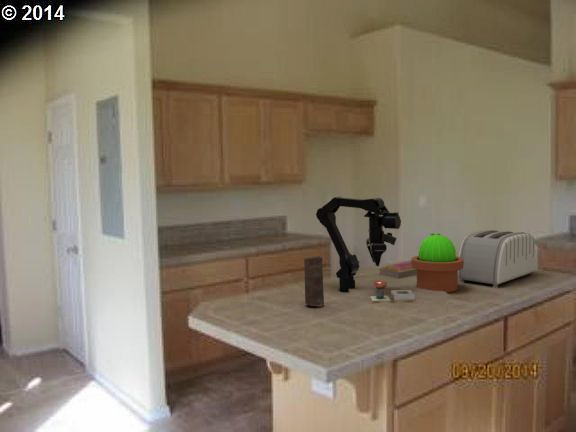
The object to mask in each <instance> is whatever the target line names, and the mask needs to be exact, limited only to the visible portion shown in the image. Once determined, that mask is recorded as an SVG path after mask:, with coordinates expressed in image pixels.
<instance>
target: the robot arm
mask: <svg viewBox="0 0 576 432" xmlns="http://www.w3.org/2000/svg"><path fill="white" fill-rule="evenodd" d="M340 207H345V208H355V209H362V210H363V211H367V212H366V213H365V214H364V215H363V217H364V218H368V231H367V232H368V235H369V236H368V237H367V239H366V240H365V245H366V248H367V251H368V253H369V255H370V258H371V260H372V263H374V265H375V266H376V267H379V266H380V263H381V259H382V255H383V254H384V253H385V252H386V251H387V244H386V243H388V244H390V245H391V246H395V244H396V241H397V237H396V236H393V233H391V232H387V233H385V231H384V229H393V230H399V229H400V228H401V225H402V220H401V216H400V215H399V213H400V212H396V211H395V212H390V211H389V209H388V208H387V206H386V205H385V202H384V199H382V198H380V197H376V198H374V197H373V198H365V199H361V198H352V197H350V198H349V197H342V196H335V197H333V198H332V199H331V200H330V201H328V202H327V203H326V204H324V205H323V206H322V207H319V208H318V209H317V210H316V213H315V216H316V219H317V220H318V221H319V223H320V224H321V225H322V226H323V227H324V228H325V229H326V231H327V234H328V235H329V238H330V240H331V242H332V244H333V247H334V248H335V250H336V253H337V255H338V257H339V258H338V260H339V263H338V264H339V269H338V270H337V271H336V272H335V275H336V277H337V278H338V291H339V292H341V293H347V292H350V290H349V289H356V280H355V277H354V276H356V274H357V272H358V271H359V269H360V261H359V259H358V258H357V255H356V254H351V253H350V250H349V249H348V247H347V244H346V243H345V241H344V239H343V236H342V234H341V232H340V230H339V228H338V225H337V223H336V222H337V217H336V213H337V211H338V210H339V209H340ZM383 228H384V229H383ZM385 242H386V243H385Z"/></svg>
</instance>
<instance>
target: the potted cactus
mask: <svg viewBox="0 0 576 432" xmlns="http://www.w3.org/2000/svg"><path fill="white" fill-rule="evenodd" d="M456 251H457V249H456V246H455V245H454V243H453V242H452V240H451V239H450V238H449V237H448V236H447V237H446V236H445V235H443V234H442V233H437V234H435V233H430V234H429V236H426V238H424V239H423V241H422V242H421V244H420V245H419V249H418V253H417V255H415V256H412V257H411V258H410V260H411V266H412V268H414V269H417V275H416V288H419V289H425V290H431V291H444V292H445V293H446V294H449V293H454V292H456V291H457V290H458V287H459V281H458V280H459V277H458V270H461V269H463V263H464V260H463V258H461V257H459V256H457V252H456Z"/></svg>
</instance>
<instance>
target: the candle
mask: <svg viewBox="0 0 576 432" xmlns="http://www.w3.org/2000/svg"><path fill="white" fill-rule="evenodd" d="M303 264H304V266H303V267H304V300H305V305H307V306H309V307H321V308H322V307H324V305H325V298H324V297H325V296H324V295H325V294H324V271H323V270H324V269H323V268H324V267H323V256H321V255H310V256H308V257H304V258H303Z"/></svg>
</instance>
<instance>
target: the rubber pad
mask: <svg viewBox="0 0 576 432" xmlns="http://www.w3.org/2000/svg"><path fill="white" fill-rule="evenodd" d="M370 298H371V299H372V301H390V299H389V298H388V296H384V299H377V298H376V296H370Z"/></svg>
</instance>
